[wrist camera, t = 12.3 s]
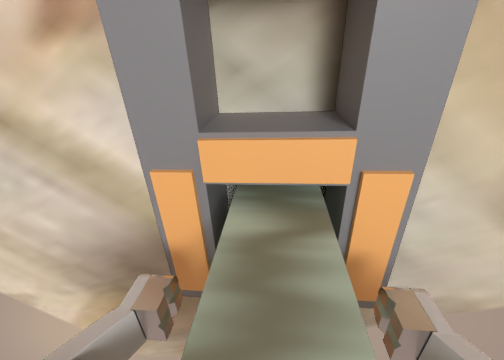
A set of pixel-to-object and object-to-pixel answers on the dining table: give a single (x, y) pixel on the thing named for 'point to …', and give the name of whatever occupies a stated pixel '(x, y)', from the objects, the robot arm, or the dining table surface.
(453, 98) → the dining table surface
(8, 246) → the dining table surface
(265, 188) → the peg
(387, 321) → the robot arm
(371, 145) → the board
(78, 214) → the dining table surface
